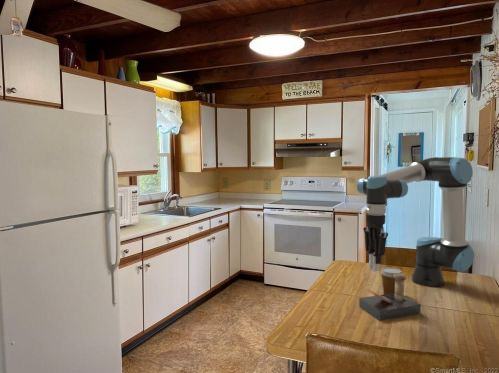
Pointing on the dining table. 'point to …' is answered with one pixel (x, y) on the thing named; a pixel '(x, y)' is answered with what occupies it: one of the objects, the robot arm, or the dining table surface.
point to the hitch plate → (389, 307)
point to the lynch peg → (399, 287)
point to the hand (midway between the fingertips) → (374, 269)
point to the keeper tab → (380, 296)
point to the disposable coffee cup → (389, 279)
